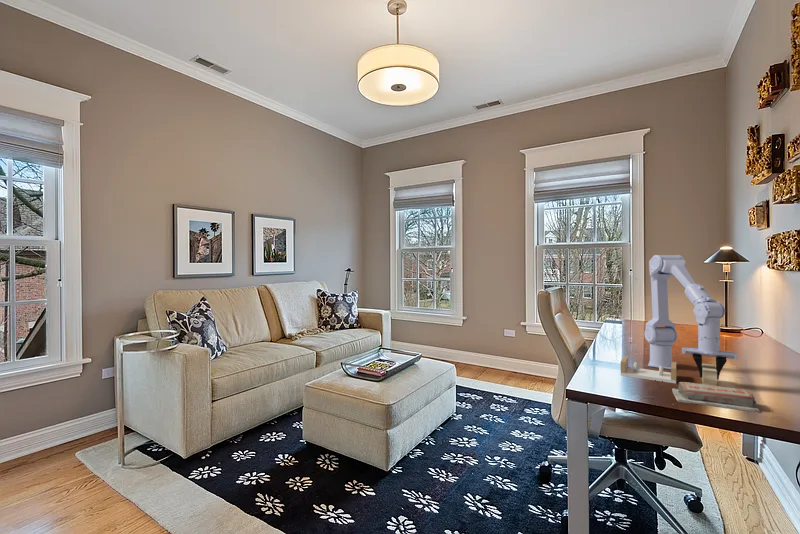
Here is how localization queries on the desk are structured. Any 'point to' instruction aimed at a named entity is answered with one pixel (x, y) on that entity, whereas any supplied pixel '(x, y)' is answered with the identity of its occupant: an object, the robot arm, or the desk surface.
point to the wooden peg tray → (648, 372)
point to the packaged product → (715, 396)
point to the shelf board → (709, 374)
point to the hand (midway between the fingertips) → (708, 377)
